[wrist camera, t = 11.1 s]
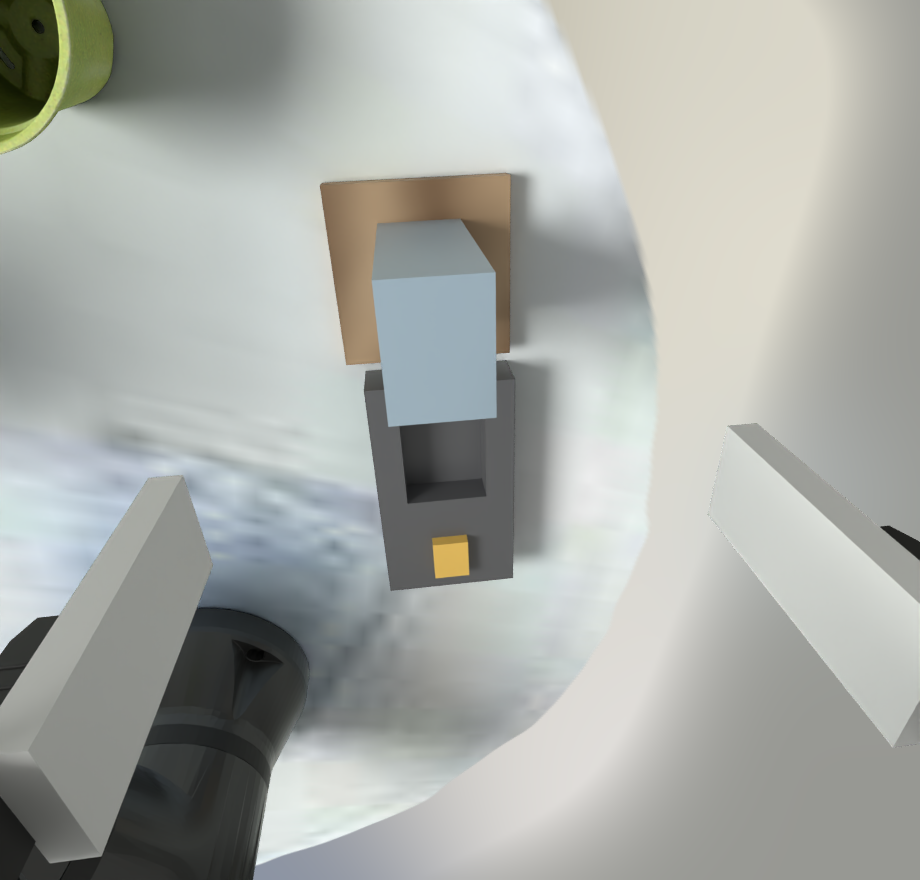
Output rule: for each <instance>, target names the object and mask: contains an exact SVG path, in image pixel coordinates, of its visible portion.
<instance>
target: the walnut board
mask: <svg viewBox="0 0 920 880" xmlns="http://www.w3.org/2000/svg"><path fill="white" fill-rule="evenodd" d="M510 185H511V175H509V174H507V173H499V174H480V175H462V176H443V177H424V178H405V179H386V180H367V181H349V182H330V183H322V184H321V185H320V189H321V196H322V203H323V210H324V216H325V223H326V230H327V237H328V244H329V250H330V257H331V264H332V271H333V278H334V284H335V291H336V298H337V305H338V311H339V318H340V325H341V332H342V339H343V345H344V352H345V359H346V365H353V364H367V363H380V362H381V358H380V349H379V341H378V332H377V323H376V315H375V306H374V297H373V288H372V271H373V261H374V251H375V241H376V230H377V223H394V222H411V221H428V220H445V219H461V221H462V222H463V224H464V225H465V227H466V228H467V230H468V231H469V233H470V234H471V236H472V237H473V239H474V240H475V242H476V243H477V245H478V246H479V248H480V249H481V251H482V252H483V254H484V255H485V257H486V259H487V260H488V262H489V263H490V265H491V266H492V268H493V269H494V271H495V272H496V354H497V353H510Z"/></svg>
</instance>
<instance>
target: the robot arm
mask: <svg viewBox="0 0 920 880" xmlns="http://www.w3.org/2000/svg"><path fill="white" fill-rule="evenodd" d="M708 516H709V517H710V518H711V519H712V521H713V522H714V523H715V524H716V526H717V527H718V528H719V530H720V531H721V532H722V533H723V535H724V536H725V537H726V538H727V540H728V541H729V542H730V543H731V545H732V546H733V547H734V548H735V550H736V551H737V552H738V553H739V555H740V556H741V557H742V558H743V560H744V561H745V562H746V563H747V565H748V566H749V567H750V569H751V570H752V571H753V572H754V573H755V575H756V576H757V577H758V578H759V580H760V581H761V582H762V584H763V585H764V586H765V587H766V589H767V590H768V591H769V592H770V594H771V595H772V596H773V598H774V599H775V600H776V601H777V603H778V604H779V605H780V606H781V608H782V609H783V610H784V611H785V613H786V614H787V615H788V616H789V618H790V619H791V620H792V621H793V623H794V624H795V625H796V626H797V628H798V629H799V630H800V632H801V633H802V634H803V635H804V637H805V638H806V639H807V640H808V642H809V643H810V644H811V645H812V647H813V648H814V649H815V650H816V652H817V653H818V654H819V655H820V657H821V658H822V659H823V660H824V661H825V663H826V664H827V666H828V667H829V668H830V669H831V671H832V672H833V673H834V674H835V675H836V677H837V678H838V679H839V681H840V682H841V683H842V684H843V686H844V687H845V688H846V689H847V691H848V692H849V693H850V694H851V696H852V697H853V698H854V699H855V701H856V702H857V703H858V705H859V706H860V707H861V708H862V710H863V711H864V712H865V713H866V715H867V716H868V717H869V718H870V719H871V721H872V722H873V723H874V725H875V726H876V727H877V728H878V730H879V731H880V732H881V733H882V735H883V736H884V737H885V739H886V740H887V741H888V742H889V743H890V745H891V746H892V747H893V748H894V747H902V746H909V745H916V744H920V542H919V541H918V540H916V539H914V538H912V537H910V536H908V535H906V534H904V533H902V532H900V531H898V530H896V529H894V528H892V527H891V526H881V527H879V526H878V525H877V524H876V523H874V522H873V521H872V520H871V519H870V518H868V517H867V516H866V515H865V514H864V513H862V512H861V511H860V510H859V509H858V508H857V507H855V506H854V505H853V504H852V503H851V502H850V501H848V500H847V499H846V498H845V497H843V496H842V495H841V494H840V493H839V492H837V491H836V490H835V489H834V488H833V487H832V486H831V485H829V484H828V483H827V482H826V481H825V480H823V479H822V478H821V477H820V476H819V475H817V474H816V473H815V472H814V471H813V470H812V469H810V468H809V467H808V466H807V465H806V464H805V463H803V462H802V461H801V460H800V459H799V458H797V457H796V456H795V455H794V454H793V453H791V452H790V451H789V450H788V449H787V448H786V447H784V446H783V445H782V444H781V443H780V442H778V441H777V440H776V439H775V438H774V437H773V436H771V435H770V434H769V433H768V432H767V431H765V430H764V429H763V428H762V427H761V426H759V425H758V424H757V423H754V424H742V425H731V426H727V429H726V434H725V439H724V443H723V448H722V452H721V457H720V461H719V466H718V470H717V475H716V479H715V484H714V488H713V493H712V498H711V503H710V507H709V511H708ZM212 567H213V563H212V560H211V557H210V554H209V551H208V548H207V546H206V543H205V540H204V537H203V534H202V531H201V528H200V525H199V522H198V519H197V516H196V513H195V510H194V507H193V504H192V501H191V498H190V495H189V492H188V489H187V486H186V483H185V480H184V477H183V475H177V476H166V477H155V478H148V480H147V481H146V483H145V484H144V486H143V487H142V489H141V490H140V492H139V494H138V495H137V497H136V498H135V500H134V501H133V503H132V504H131V506H130V507H129V509H128V510H127V512H126V513H125V515H124V517H123V518H122V520H121V521H120V523H119V524H118V526H117V527H116V529H115V530H114V532H113V533H112V535H111V537H110V538H109V540H108V541H107V543H106V544H105V546H104V547H103V549H102V550H101V552H100V553H99V555H98V557H97V558H96V560H95V561H94V563H93V564H92V566H91V567H90V569H89V570H88V572H87V573H86V575H85V577H84V578H83V580H82V581H81V583H80V584H79V586H78V587H77V589H76V590H75V592H74V593H73V595H72V597H71V598H70V600H69V601H68V603H67V604H66V606H65V607H64V609H63V610H62V612H61V613H60V615H59V616H50V617H41V618H37V619H36V620H34V621H33V622H32V623H31V624H30V625H28V626H27V627H26V628H25V629H24V630H23V631H21V632H20V633H19V634H18V635H17V636H16V637H14V638H13V639H12V640H11V641H10V642H9V643H8V645H7V646H6V648H5V649H4V650H3V652H2V653H1V655H0V880H253V876H254V870H255V865H256V859H257V853H258V847H259V841H260V835H261V830H262V824H263V818H264V812H265V806H266V800H267V793H268V788H269V782H270V777H271V772H272V769H273V767H274V765H275V763H276V761H277V759H278V757H279V755H280V753H281V751H282V749H283V748H284V746H285V744H286V742H287V740H288V738H289V736H290V734H291V732H292V730H293V728H294V726H295V725H296V723H297V721H298V719H299V717H300V715H301V713H302V710H303V708H304V705H305V701H306V696H307V689H308V682H309V665H308V662H307V659H306V656H305V654H304V652H303V651H302V649H301V648H300V646H299V645H298V644H297V642H296V641H295V640H294V639H293V638H292V637H291V636H289V635H288V634H287V633H286V632H284V631H283V630H282V629H280V628H279V627H277V626H275V625H274V624H272V623H270V622H268V621H266V620H263V619H261V618H258V617H255V616H253V615H249V614H246V613H242V612H237V611H232V610H225V609H209V608H206V609H197V606H198V603H199V601H200V598H201V596H202V593H203V590H204V588H205V585H206V582H207V580H208V577H209V575H210V572H211V569H212Z"/></svg>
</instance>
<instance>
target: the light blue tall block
mask: <svg viewBox="0 0 920 880" xmlns="http://www.w3.org/2000/svg"><path fill="white" fill-rule="evenodd" d="M372 288H373V297H374V306H375V315H376V323H377V332H378V341H379V349H380V358H381V367H382V376H383V384H384V393H385V402H386V410H387V419H388V427H393V426H404V425H416V424H428V423H440V422H452V421H463V420H475V419H487V418H497V403H496V272H495V271H494V269H493V268H492V266H491V265H490V263H489V262H488V260H487V259H486V257H485V255H484V254H483V252H482V251H481V249H480V248H479V246H478V245H477V243H476V242H475V240H474V239H473V237H472V236H471V234H470V233H469V231H468V230H467V228H466V227H465V225H464V224H463V222H462V221H461V219H445V220H428V221H411V222H394V223H377V230H376V241H375V251H374V261H373V271H372Z"/></svg>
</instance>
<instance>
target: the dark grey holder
mask: <svg viewBox="0 0 920 880" xmlns="http://www.w3.org/2000/svg"><path fill="white" fill-rule="evenodd" d="M364 395H365V403H366V410H367V418H368V425H369V432H370V440H371V447H372V455H373V462H374V470H375V477H376V485H377V492H378V499H379V507H380V514H381V522H382V529H383V537H384V544H385V552H386V559H387V566H388V574H389V581H390V589H391V591H394V590H403V589H412V588H422V587H431V586H441V585H450V584H460V583H469V582H479V581H488V580H497V579H507V578H513V518H514V424H515V378H514V376H513V374H512V372H511V370H510V368H509V365H508V363H507V361H506V360H505V361H496V403H497V418H487V419H475V420H463V421H452V422H440V423H428V424H416V425H404V426H393V427H388V419H387V410H386V402H385V393H384V384H383V376H382V370H376V371H366V374H365V385H364Z"/></svg>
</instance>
